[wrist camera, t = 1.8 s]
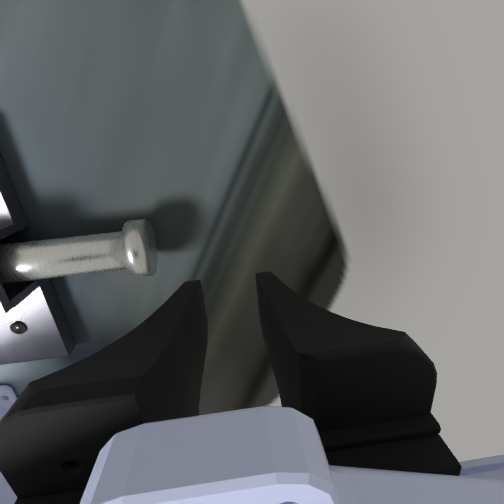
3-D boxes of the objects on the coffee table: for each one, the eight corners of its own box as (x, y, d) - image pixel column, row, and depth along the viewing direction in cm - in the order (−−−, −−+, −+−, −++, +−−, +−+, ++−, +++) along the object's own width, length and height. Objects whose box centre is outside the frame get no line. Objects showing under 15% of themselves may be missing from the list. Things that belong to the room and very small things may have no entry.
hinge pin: (149, 212, 19) (134, 228, 16) (160, 261, 21) (148, 286, 18) (-72, 236, 19) (-135, 258, 15) (-45, 285, 20) (-98, 315, 17)
